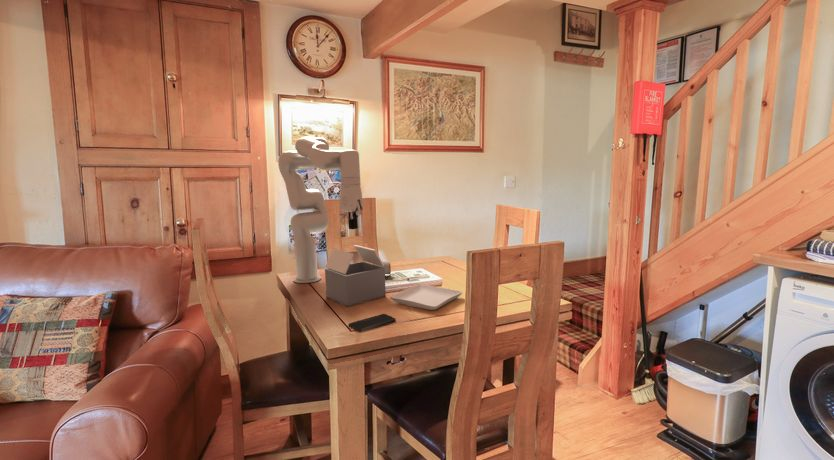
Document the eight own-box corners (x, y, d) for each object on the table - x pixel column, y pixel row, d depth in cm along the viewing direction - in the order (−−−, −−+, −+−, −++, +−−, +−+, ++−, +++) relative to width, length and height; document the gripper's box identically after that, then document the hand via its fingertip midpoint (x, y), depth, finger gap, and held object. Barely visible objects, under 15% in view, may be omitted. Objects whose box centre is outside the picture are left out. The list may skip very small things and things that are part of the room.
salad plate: (463, 298, 174) (463, 290, 174) (435, 315, 157) (435, 305, 156) (419, 291, 186) (419, 283, 185) (388, 305, 169) (388, 296, 168)
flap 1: (353, 254, 167) (352, 253, 167) (345, 274, 166) (344, 273, 165) (334, 248, 178) (333, 248, 178) (326, 267, 177) (325, 267, 176)
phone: (397, 319, 151) (359, 330, 141) (397, 322, 151) (359, 333, 142) (384, 313, 157) (346, 323, 148) (384, 316, 157) (347, 326, 148)
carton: (326, 297, 179) (324, 268, 177) (363, 288, 190) (362, 261, 189) (347, 306, 167) (345, 276, 165) (385, 296, 178) (384, 267, 177)
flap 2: (353, 245, 184) (354, 244, 184) (362, 260, 188) (363, 259, 188) (373, 250, 173) (374, 249, 173) (383, 266, 177) (384, 265, 177)
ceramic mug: (391, 278, 206) (390, 262, 205) (374, 279, 205) (373, 263, 203) (388, 273, 216) (387, 257, 215) (371, 274, 215) (371, 258, 214)
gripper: (332, 182, 175) (335, 228, 177) (352, 182, 163) (355, 231, 166) (348, 181, 179) (351, 226, 182) (369, 181, 168) (371, 229, 171)
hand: (353, 228), depth 174 cm, fingers closed
